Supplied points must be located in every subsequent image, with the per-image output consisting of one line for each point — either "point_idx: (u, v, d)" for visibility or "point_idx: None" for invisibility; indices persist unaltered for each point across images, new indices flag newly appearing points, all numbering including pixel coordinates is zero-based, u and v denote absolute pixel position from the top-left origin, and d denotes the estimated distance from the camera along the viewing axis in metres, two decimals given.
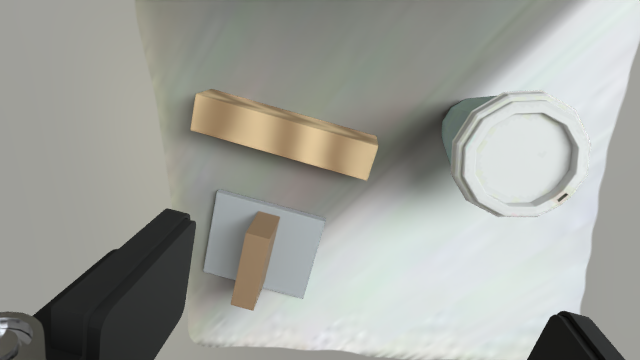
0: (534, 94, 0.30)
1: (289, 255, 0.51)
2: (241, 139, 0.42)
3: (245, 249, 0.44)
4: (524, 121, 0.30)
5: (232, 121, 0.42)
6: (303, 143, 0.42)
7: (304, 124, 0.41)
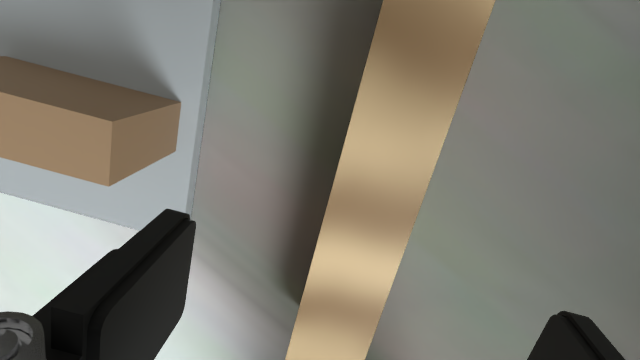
0: None
1: None
2: (369, 102, 0.16)
3: (61, 117, 0.15)
4: None
5: (419, 79, 0.16)
6: (361, 248, 0.18)
7: None
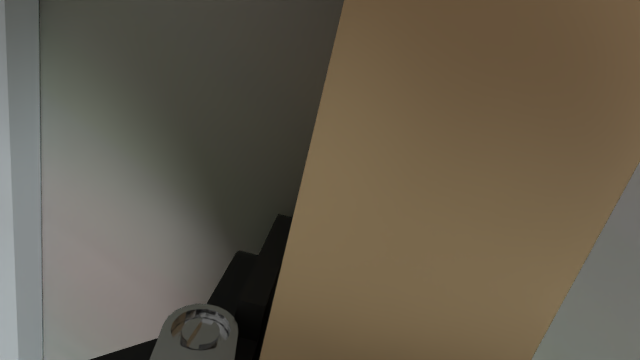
0: None
1: None
2: (342, 194, 0.05)
3: None
4: None
5: (499, 128, 0.05)
6: None
7: None
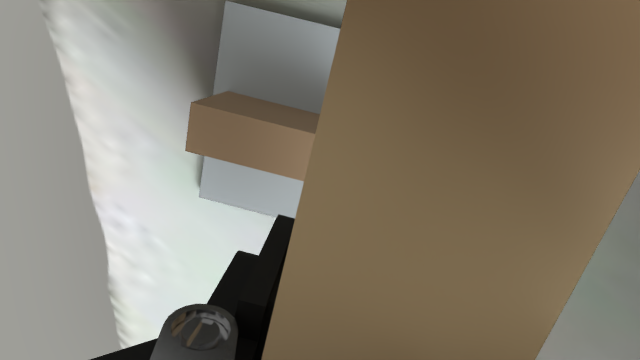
0: None
1: (282, 177, 0.28)
2: (344, 194, 0.05)
3: None
4: None
5: (503, 127, 0.05)
6: None
7: None
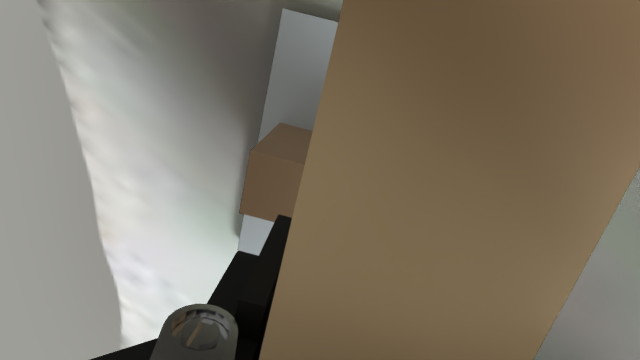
0: None
1: None
2: (342, 194, 0.05)
3: None
4: None
5: (501, 126, 0.05)
6: None
7: None
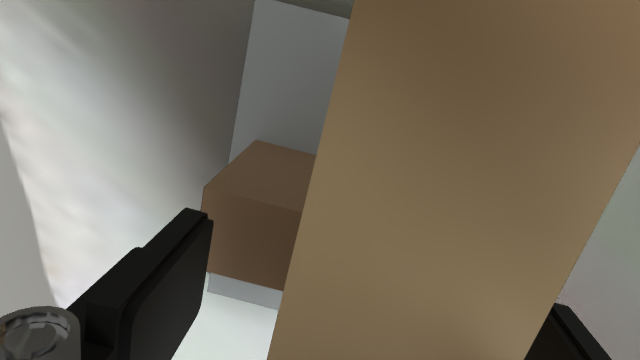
0: None
1: None
2: (349, 189, 0.06)
3: None
4: None
5: (500, 125, 0.05)
6: None
7: None
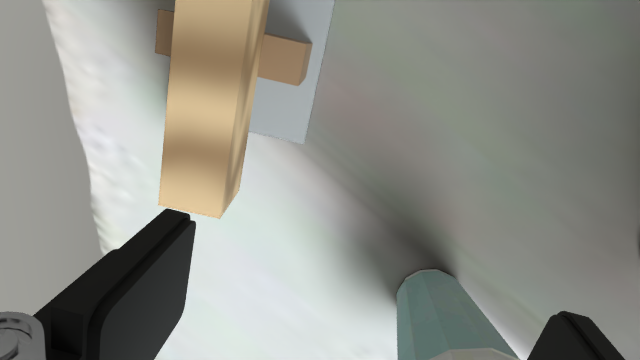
0: None
1: None
2: None
3: (274, 43, 0.26)
4: None
5: None
6: (204, 93, 0.22)
7: (239, 92, 0.23)
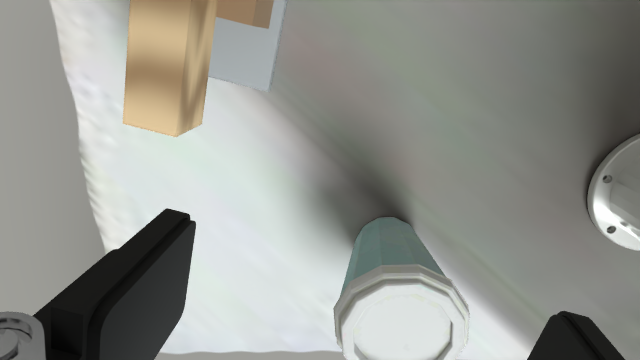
0: (467, 334, 0.30)
1: None
2: None
3: None
4: (442, 330, 0.29)
5: None
6: (159, 19, 0.26)
7: (190, 19, 0.26)
